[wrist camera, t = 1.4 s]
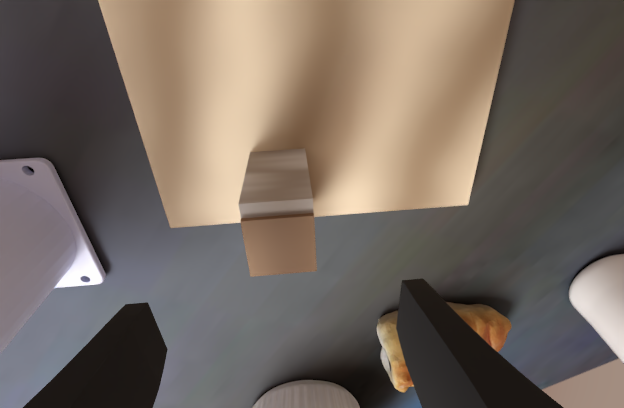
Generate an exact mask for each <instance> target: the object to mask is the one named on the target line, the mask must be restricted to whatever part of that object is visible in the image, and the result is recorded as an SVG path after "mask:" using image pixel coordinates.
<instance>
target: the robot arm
mask: <svg viewBox="0 0 624 408" xmlns="http://www.w3.org/2000/svg"><path fill="white" fill-rule="evenodd" d="M28 166H29V167H31V168H32V169H33V170H34V172H32V171H30V170H29V169H28ZM86 276H87V277H86ZM88 277H89V278H88ZM105 277H106V274H105V272H104V270H103V267H102V265H101V263H100V261H99V259H98V257H97V255H96V253H95V251H94V249H93V247H92V245H91V242H90V240H89V238H88V236H87V234H86V232H85V230H84V228H83V226H82V224H81V222H80V220H79V218H78V215H77V213H76V211H75V209H74V207H73V205H72V203H71V201H70V199H69V197H68V195H67V193H66V191H65V188H64V186H63V184H62V182H61V180H60V178H59V176H58V174H57V172H56V170H55V168H54V166H53V164H52V163H51V162H50V161H48V160H47V159H44V158H25V159H10V160H0V354H1V353H2V351H3V350H4V349H5V348H6V346H7V345H8V344H9V343H10V342H11V340H12V339H13V338H14V337H15V335H16V334H17V333H18V332H19V330H20V329H21V328H22V327H23V326H24V324H25V323H26V322H27V321H28V319H29V318H30V317H31V316H32V314H33V313H34V312H35V311H36V310H37V308H38V307H39V306H40V305H41V303H42V302H43V301H44V300H45V298H46V297H47V296H48V295H49V294H50V292H51V291H52V290H53V289H54V288H58V287H70V286H81V285H93V284H100V283H102V282H103V281H104V279H105ZM396 330H397V334H398V338H399V342H400V346H401V349H402V353H403V357H404V360H405V364H406V366H407V369H408V372H409V374H410V377H411V380H412V382H413V385H414V387H415V390H416V393H417V395H418V398H419V400H420V403H421V405H422V408H563V407H562V406H561V405H560V404H558V403H557V402H556V401H554V400H553V399H552V398H551V397H549V396H548V395H547V394H546V393H544V392H543V391H542V390H541V389H539V388H538V387H537V386H536V385H535V384H533V383H532V382H531V381H530V380H529V379H527V378H526V377H525V376H524V375H523V374H522V373H520V372H519V371H518V370H517V369H516V368H515V367H514V366H512V365H511V364H510V363H509V362H508V361H507V360H506V359H504V358H503V357H502V356H501V355H500V354H499V353H498V352H497V351H496V350H495V349H493V348H492V347H491V346H490V345H489V344H488V343H487V342H486V341H485V340H484V339H483V338H482V337H481V336H480V335H479V334H478V333H477V332H475V331H474V330H473V329H472V328H471V327H470V326H469V325H468V324H467V323H466V322H465V321H464V320H463V319H462V318H461V317H460V316H459V315H458V314H457V313H456V312H455V311H454V310H453V309H452V308H451V307H450V306H449V305H448V304H447V303H446V302H445V301H444V300H443V299H442V298H441V296H440V295H439V294H438V293H437V292H436V291H435V290H434V289H433V288H432V287H431V286H430V285H429V284H428V283H427V282H426V281H425V280H424V279H414V280H402V285H401V293H400V301H399V309H398V317H397V325H396ZM166 354H167V347H166V345H165V343H164V340H163V338H162V335H161V333H160V331H159V328H158V326H157V323H156V321H155V319H154V316H153V314H152V312H151V309H150V307H149V304H148V303H137V304H126V305H125V306H124V307H123V308H122V309H121V310H120V311H119V312H118V313H117V314H116V315H115V316H114V317H113V318H112V319H111V320H110V321H109V322H108V323H107V324H106V325H105V326H104V327H103V328H102V329H101V330H100V331H99V332H98V333H97V334H96V335H95V336H94V337H93V339H92V340H91V341H90V342H89V343H88V344H87V345H86V346H85V347H84V348H83V349H82V350H81V351H80V352H79V353H78V354H77V355H76V356H75V357H74V358H73V359H72V360H71V361H70V362H69V363H68V364H67V365H66V366H65V367H64V368H63V369H62V370H61V371H60V372H59V373H58V374H57V375H56V376H55V377H54V378H53V379H52V380H51V381H50V382H49V383H48V384H47V385H46V386H45V387H44V388H43V389H42V390H41V391H40V392H39V393H38V394H37V395H36V396H34V397H33V398H32V399H31V400H30V401H29V402H28V403H27V404H26V405H25V406H24V407H23V408H153V405H154V402H155V399H156V396H157V393H158V390H159V386H160V382H161V378H162V373H163V369H164V364H165V359H166Z"/></svg>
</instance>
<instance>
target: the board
mask: <svg viewBox="0 0 624 408" xmlns="http://www.w3.org/2000/svg"><path fill="white" fill-rule="evenodd" d="M514 1H515V0H98V2H99V5H100V8H101V11H102V14H103V17H104V21H105V24H106V27H107V30H108V33H109V36H110V39H111V43H112V46H113V49H114V52H115V55H116V58H117V61H118V65H119V68H120V71H121V74H122V77H123V80H124V83H125V87H126V90H127V93H128V96H129V99H130V102H131V105H132V109H133V112H134V115H135V118H136V121H137V124H138V127H139V131H140V134H141V137H142V140H143V143H144V146H145V149H146V153H147V156H148V159H149V162H150V165H151V168H152V171H153V175H154V178H155V181H156V184H157V187H158V190H159V193H160V197H161V200H162V203H163V206H164V209H165V212H166V215H167V219H168V222H169V225H170V228H177V227H190V226H203V225H216V224H228V223H241V222H240V221H241V216H240V210H239V205H238V204H239V199H240V195H241V190H242V186H243V181H244V177H245V172H246V168H247V163H248V159H249V155H250V152H260V151H275V150H289V149H303V148H305V151H306V158H307V164H308V171H309V177H310V183H311V190H312V196H313V212H314V217H318V216H331V215H344V214H357V213H369V212H382V211H395V210H408V209H421V208H434V207H446V206H459V205H468V203H469V198H470V194H471V190H472V185H473V181H474V176H475V172H476V168H477V163H478V159H479V155H480V150H481V146H482V141H483V137H484V133H485V128H486V124H487V120H488V115H489V111H490V106H491V102H492V98H493V93H494V89H495V85H496V80H497V76H498V71H499V67H500V63H501V58H502V54H503V50H504V45H505V41H506V36H507V32H508V28H509V23H510V19H511V15H512V10H513V6H514Z"/></svg>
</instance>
